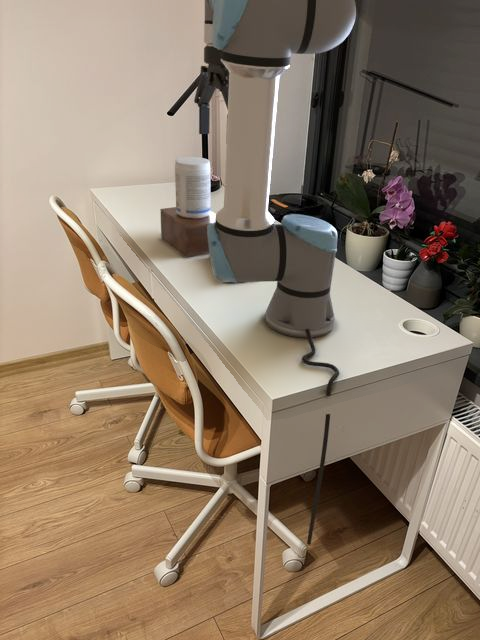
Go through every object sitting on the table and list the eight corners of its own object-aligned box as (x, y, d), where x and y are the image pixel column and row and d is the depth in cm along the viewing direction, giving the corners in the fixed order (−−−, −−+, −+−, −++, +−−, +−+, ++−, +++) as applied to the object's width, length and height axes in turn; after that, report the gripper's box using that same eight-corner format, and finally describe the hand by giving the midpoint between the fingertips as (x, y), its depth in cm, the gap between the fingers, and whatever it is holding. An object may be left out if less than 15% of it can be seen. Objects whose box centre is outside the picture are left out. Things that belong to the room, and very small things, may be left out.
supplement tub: (216, 213, 157) (217, 160, 150) (199, 222, 150) (200, 166, 142) (186, 206, 160) (186, 154, 153) (169, 215, 153) (168, 160, 145)
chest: (225, 250, 158) (226, 222, 153) (185, 257, 151) (185, 228, 147) (199, 233, 168) (199, 206, 164) (161, 239, 162) (160, 211, 158)
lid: (227, 223, 153) (227, 220, 153) (187, 229, 146) (187, 226, 146) (199, 206, 164) (199, 204, 164) (160, 211, 158) (160, 208, 157)
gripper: (262, 50, 127) (256, 147, 138) (206, 43, 144) (205, 129, 155) (234, 49, 123) (231, 148, 134) (181, 41, 140) (181, 130, 151)
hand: (217, 138), depth 144 cm, fingers open, 13 cm apart
